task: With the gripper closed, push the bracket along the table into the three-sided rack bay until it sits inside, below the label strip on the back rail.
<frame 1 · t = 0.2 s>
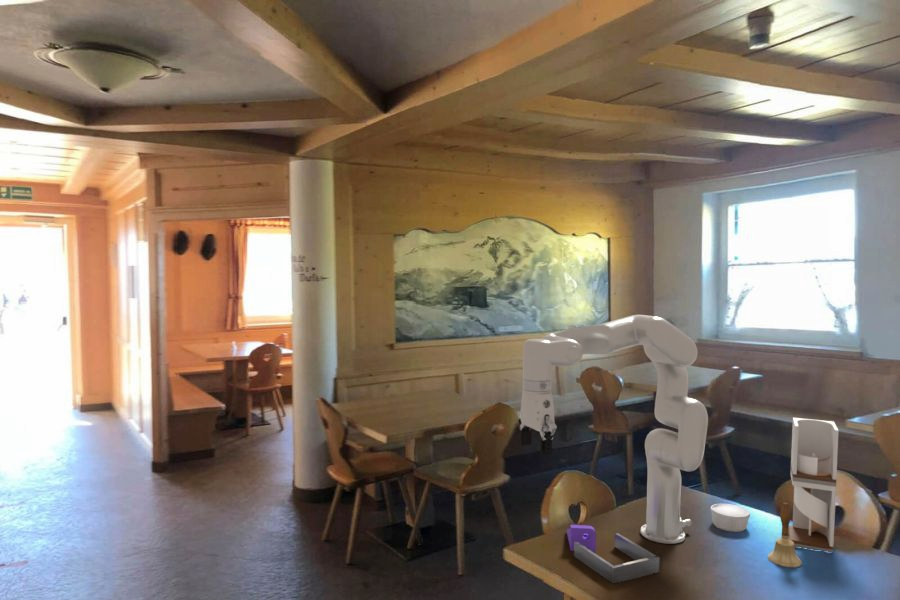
hand: (535, 449, 171), 31 cm above the table, tool pointing down, fingers open, 9 cm apart
bracket: (580, 543, 186), on the table
hand bell: (784, 561, 176), on the table
ramekin: (729, 527, 199), on the table
display case: (809, 543, 187), on the table
rack bay: (614, 563, 173), on the table
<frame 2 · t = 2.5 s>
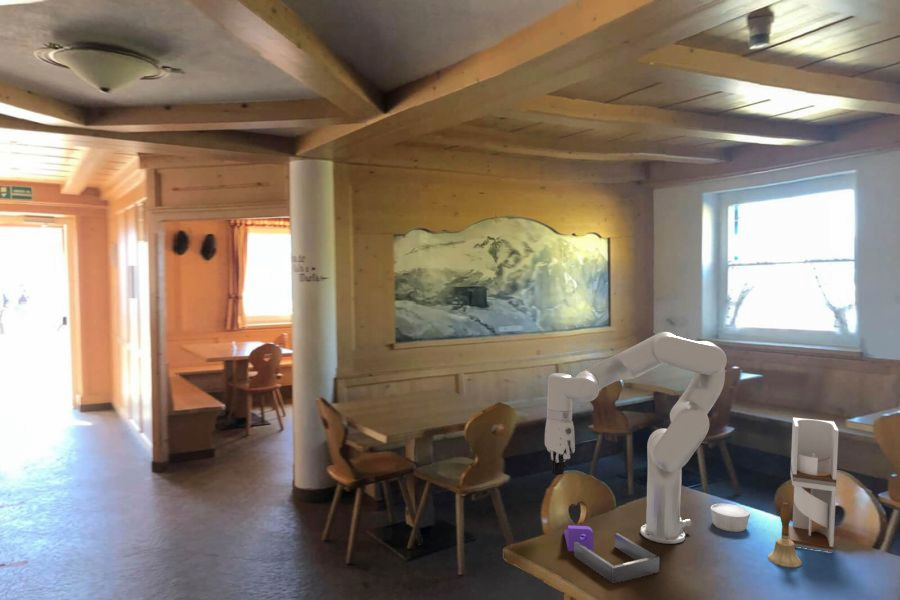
hand: (557, 473, 196), 16 cm above the table, tool pointing down, fingers closed
nothing on the table moved.
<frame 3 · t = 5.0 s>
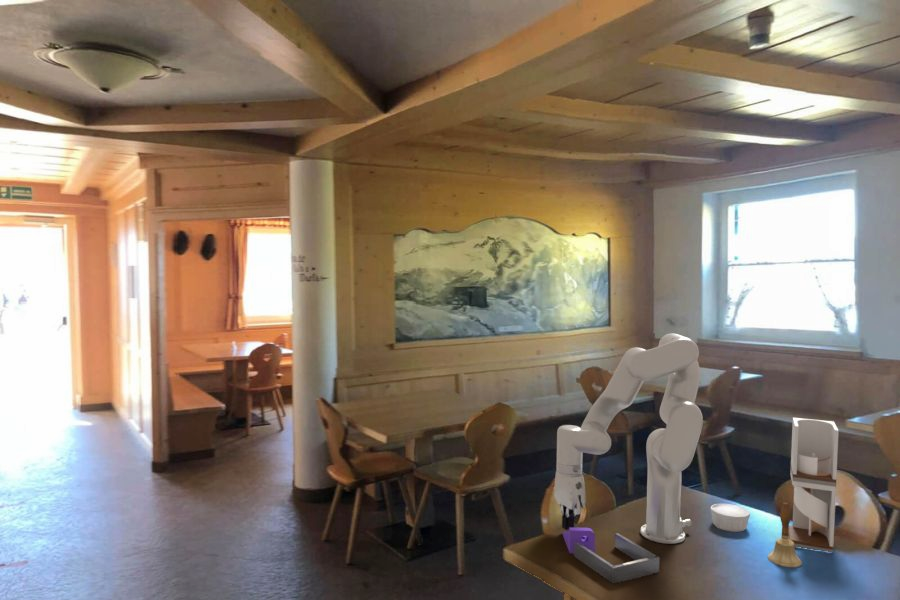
hand: (568, 528, 192), 1 cm above the table, tool pointing down, fingers closed
bracket: (578, 545, 185), on the table
everything else where it was.
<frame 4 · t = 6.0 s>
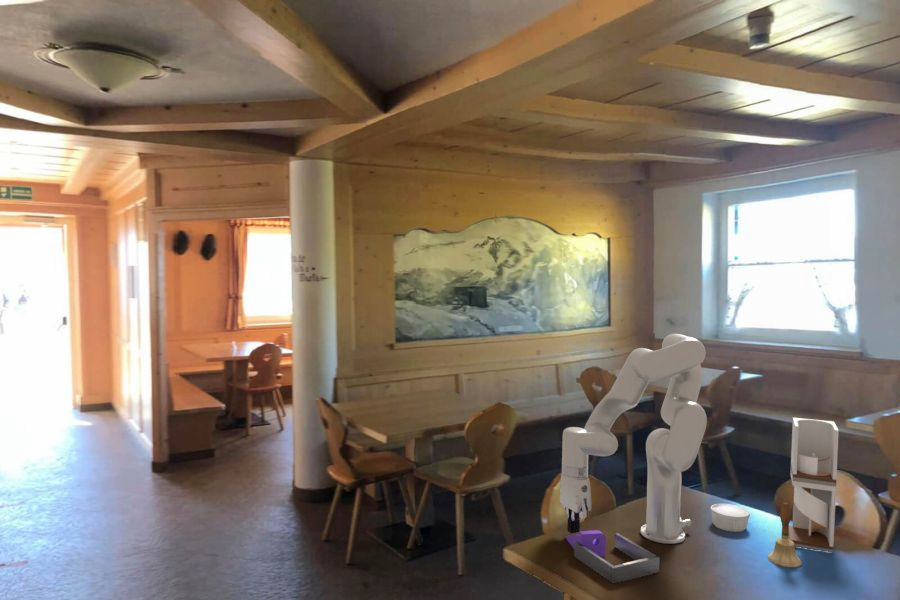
hand: (573, 531, 190), 2 cm above the table, tool pointing down, fingers closed
bracket: (585, 549, 183), on the table, touching gripper
everything else where it was.
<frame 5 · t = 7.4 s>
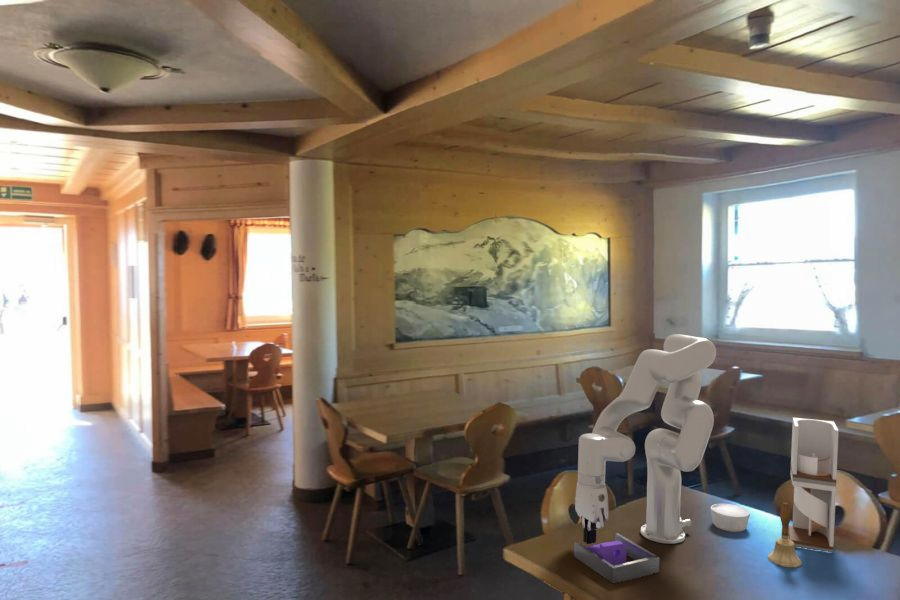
hand: (589, 542, 182), 2 cm above the table, tool pointing down, fingers closed
bracket: (602, 561, 176), on the table, touching gripper
everything else where it was.
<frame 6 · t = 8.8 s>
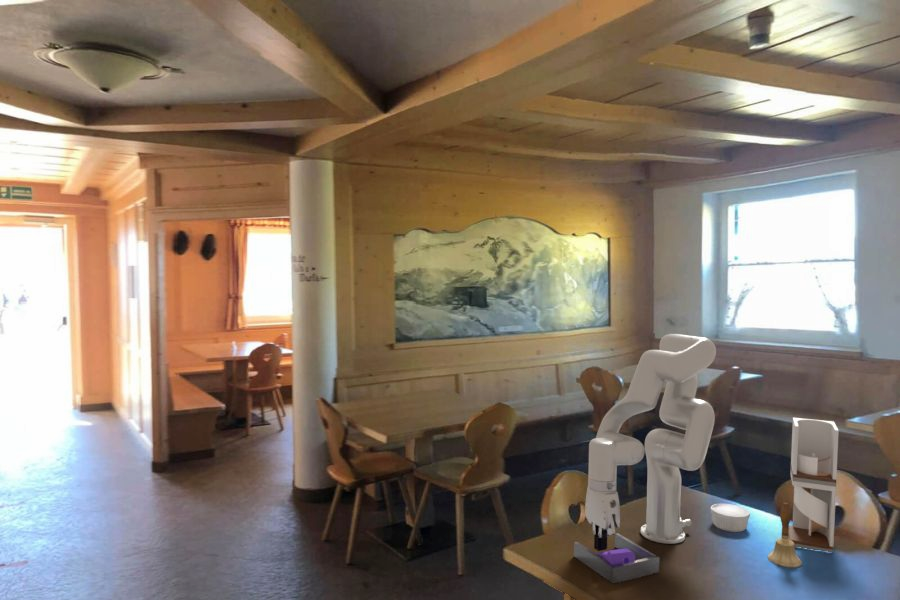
hand: (600, 549, 178), 2 cm above the table, tool pointing down, fingers closed
bracket: (610, 568, 171), on the table, touching gripper, rack bay
everything else where it was.
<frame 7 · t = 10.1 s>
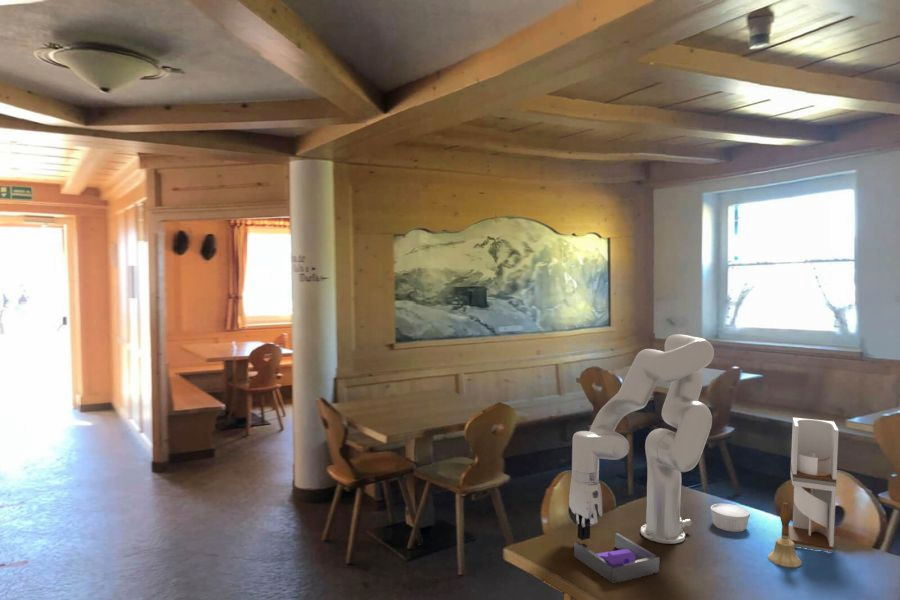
hand: (583, 538, 185), 2 cm above the table, tool pointing down, fingers closed
bracket: (610, 569, 171), on the table
everything else where it was.
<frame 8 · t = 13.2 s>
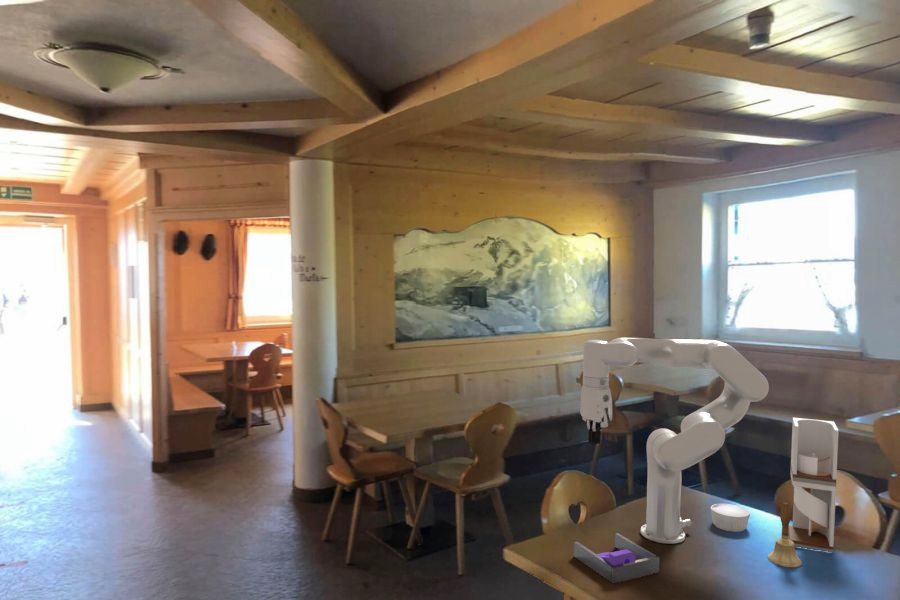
hand: (594, 443, 191), 27 cm above the table, tool pointing down, fingers closed
at the end: bracket inside the target area on the rack bay (3.2 cm from its centre), point -0.6 cm above the rack bay's base; bracket moved 16.8 cm from its start; bracket tilted 0° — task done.
